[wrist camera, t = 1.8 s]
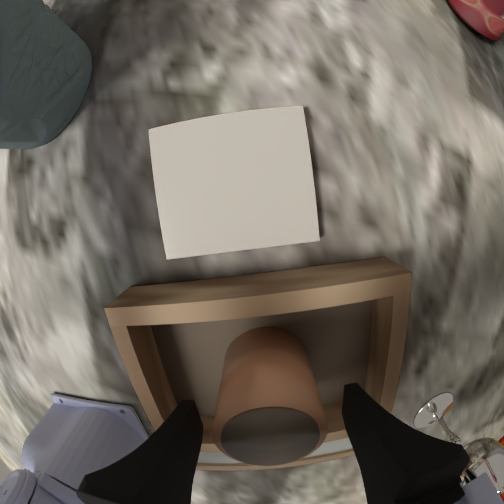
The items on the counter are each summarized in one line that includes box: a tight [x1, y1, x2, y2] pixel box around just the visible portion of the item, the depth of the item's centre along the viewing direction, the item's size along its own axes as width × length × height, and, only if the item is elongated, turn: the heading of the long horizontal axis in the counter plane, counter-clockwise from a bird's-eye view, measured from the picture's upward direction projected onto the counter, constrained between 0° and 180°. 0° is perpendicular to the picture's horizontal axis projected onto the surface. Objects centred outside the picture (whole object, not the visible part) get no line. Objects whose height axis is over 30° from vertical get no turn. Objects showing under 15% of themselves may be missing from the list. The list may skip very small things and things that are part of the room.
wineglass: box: [414, 393, 504, 495], centre depth 12 cm, size 6×6×12 cm
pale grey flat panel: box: [196, 438, 355, 471], centre depth 18 cm, size 15×6×1 cm, turn 97°
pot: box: [212, 327, 328, 466], centre depth 13 cm, size 5×5×6 cm
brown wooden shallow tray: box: [104, 257, 412, 452], centre depth 15 cm, size 15×11×3 cm
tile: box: [149, 106, 320, 259], centre depth 14 cm, size 8×7×1 cm
